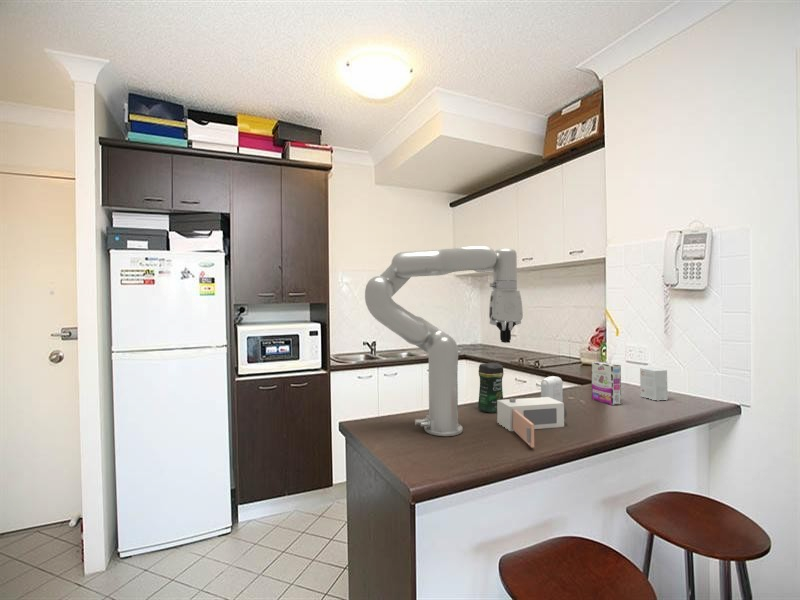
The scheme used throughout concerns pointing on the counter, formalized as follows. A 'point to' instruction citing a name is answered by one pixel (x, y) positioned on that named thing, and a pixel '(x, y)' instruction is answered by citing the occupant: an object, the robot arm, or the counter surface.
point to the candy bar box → (606, 383)
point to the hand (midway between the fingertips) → (505, 342)
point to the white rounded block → (552, 388)
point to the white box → (532, 412)
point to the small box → (653, 383)
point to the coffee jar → (490, 386)
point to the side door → (523, 427)
